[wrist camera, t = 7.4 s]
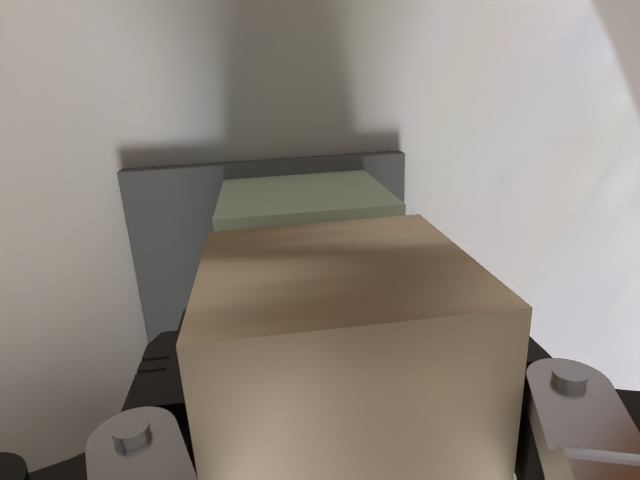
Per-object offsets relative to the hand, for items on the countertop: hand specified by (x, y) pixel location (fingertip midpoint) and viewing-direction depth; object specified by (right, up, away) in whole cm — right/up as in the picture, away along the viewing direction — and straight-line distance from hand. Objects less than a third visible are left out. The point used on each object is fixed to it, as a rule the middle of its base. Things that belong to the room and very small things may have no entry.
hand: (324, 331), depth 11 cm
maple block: (0, 0, +1) cm, 1 cm away
